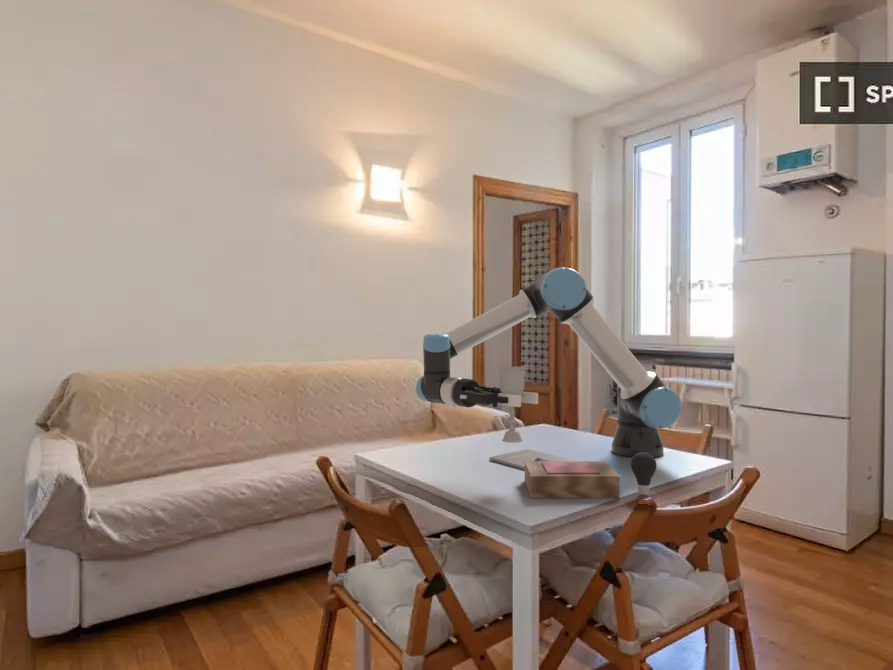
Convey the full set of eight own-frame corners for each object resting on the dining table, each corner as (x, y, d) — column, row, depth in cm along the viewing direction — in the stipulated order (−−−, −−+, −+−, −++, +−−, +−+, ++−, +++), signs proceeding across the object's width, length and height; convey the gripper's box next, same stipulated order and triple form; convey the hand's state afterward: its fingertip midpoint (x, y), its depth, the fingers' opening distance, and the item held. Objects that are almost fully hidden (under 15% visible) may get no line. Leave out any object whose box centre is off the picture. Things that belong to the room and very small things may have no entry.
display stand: (604, 481, 141) (604, 460, 141) (619, 498, 127) (619, 475, 127) (524, 481, 142) (524, 460, 142) (531, 498, 128) (531, 474, 128)
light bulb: (638, 500, 126) (638, 455, 125) (626, 492, 131) (626, 450, 131) (661, 498, 126) (661, 454, 126) (648, 491, 132) (648, 449, 132)
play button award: (528, 449, 173) (579, 461, 158) (528, 454, 174) (579, 467, 158) (489, 457, 164) (540, 470, 148) (489, 462, 164) (540, 476, 148)
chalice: (532, 440, 138) (531, 367, 137) (516, 444, 133) (515, 369, 132) (508, 436, 143) (507, 366, 142) (492, 440, 138) (491, 367, 137)
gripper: (485, 402, 157) (552, 411, 140) (435, 410, 144) (502, 420, 127) (484, 375, 157) (552, 381, 140) (434, 381, 144) (502, 387, 127)
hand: (528, 399), depth 134 cm, fingers closed on chalice, 6 cm apart
